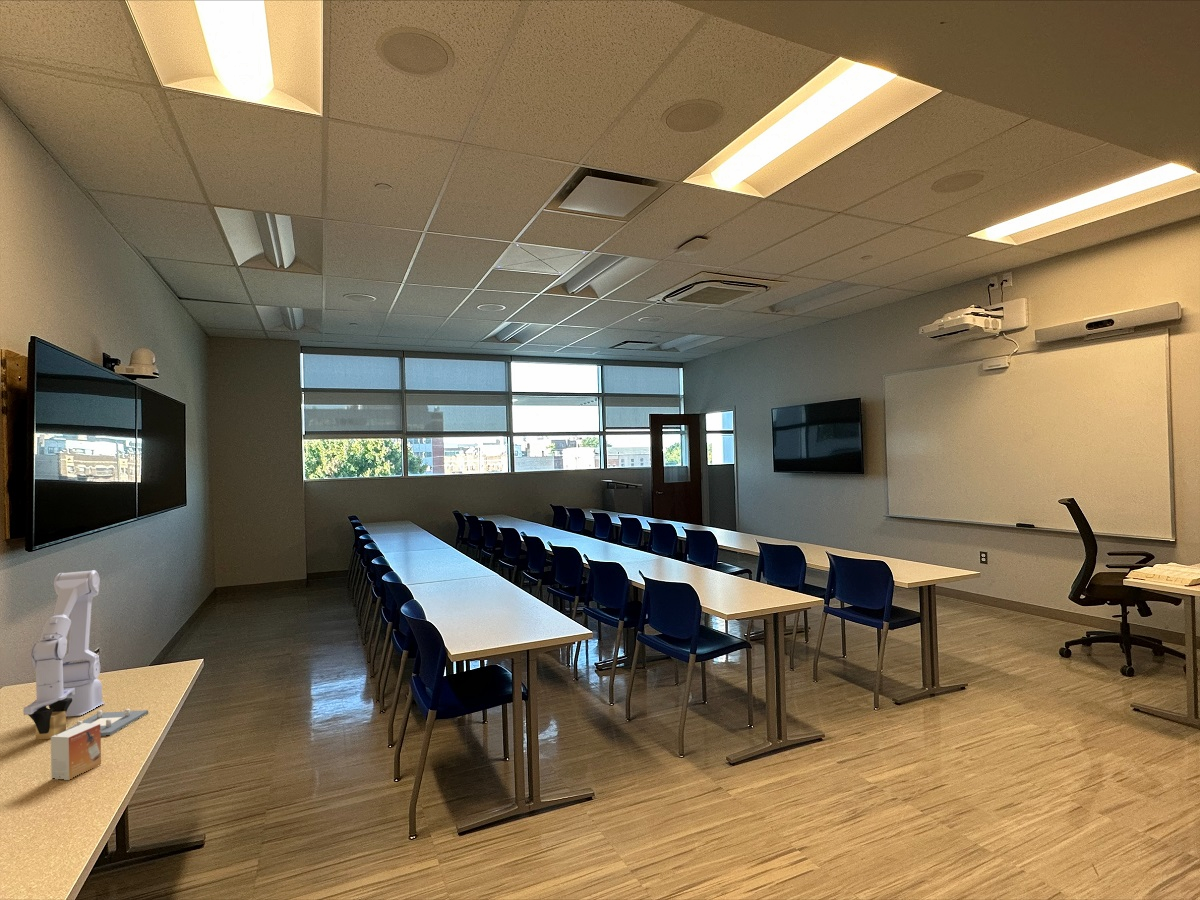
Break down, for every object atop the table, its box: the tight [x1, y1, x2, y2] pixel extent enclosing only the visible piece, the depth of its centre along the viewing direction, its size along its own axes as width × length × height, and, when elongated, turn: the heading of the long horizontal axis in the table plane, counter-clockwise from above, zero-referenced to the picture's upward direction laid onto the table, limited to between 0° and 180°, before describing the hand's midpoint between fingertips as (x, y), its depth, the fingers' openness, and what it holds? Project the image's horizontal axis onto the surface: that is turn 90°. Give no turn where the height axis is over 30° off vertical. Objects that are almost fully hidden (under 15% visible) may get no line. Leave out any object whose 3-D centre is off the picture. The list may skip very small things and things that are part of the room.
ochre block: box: [35, 711, 67, 740], centre depth 171 cm, size 4×5×6 cm
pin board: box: [59, 708, 149, 737], centre depth 177 cm, size 15×15×3 cm
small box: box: [50, 723, 102, 781], centre depth 150 cm, size 8×6×10 cm
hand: (51, 729), depth 171 cm, fingers closed on ochre block, 4 cm apart
